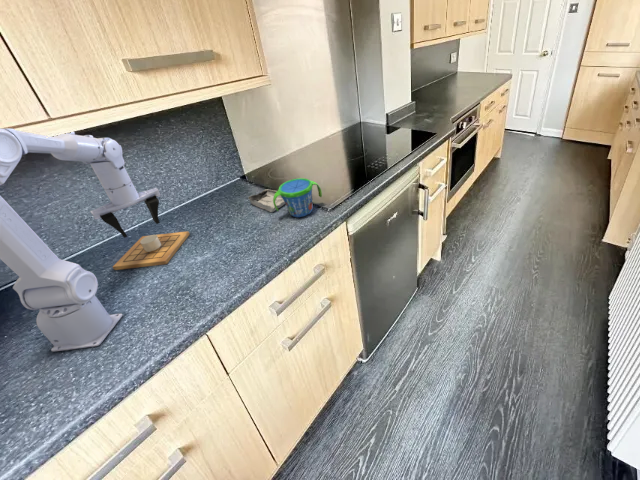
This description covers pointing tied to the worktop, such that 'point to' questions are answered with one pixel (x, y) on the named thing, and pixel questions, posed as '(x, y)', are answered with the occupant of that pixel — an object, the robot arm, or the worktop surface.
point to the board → (152, 252)
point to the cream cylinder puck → (150, 243)
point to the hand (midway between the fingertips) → (141, 229)
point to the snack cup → (297, 196)
